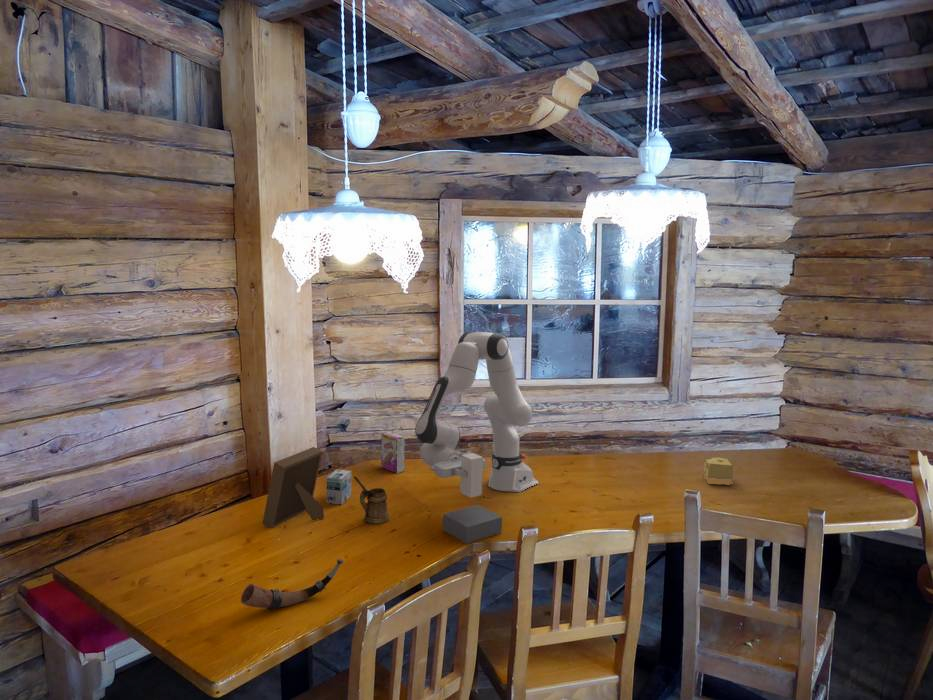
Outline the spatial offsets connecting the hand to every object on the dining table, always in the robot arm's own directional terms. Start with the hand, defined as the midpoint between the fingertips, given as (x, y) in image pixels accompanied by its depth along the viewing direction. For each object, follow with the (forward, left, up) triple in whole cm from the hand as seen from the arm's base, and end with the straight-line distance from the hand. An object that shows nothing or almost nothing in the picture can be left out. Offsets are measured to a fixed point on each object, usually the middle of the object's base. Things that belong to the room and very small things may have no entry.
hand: (473, 472), depth 248 cm
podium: (0, 0, -22) cm, 22 cm away
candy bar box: (-12, -73, -22) cm, 77 cm away
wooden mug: (+25, -29, -22) cm, 44 cm away
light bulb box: (+25, -54, -22) cm, 63 cm away
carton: (0, -1, -8) cm, 8 cm away
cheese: (-125, +20, -22) cm, 128 cm away
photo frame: (+47, -44, -22) cm, 68 cm away
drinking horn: (+73, +10, -22) cm, 77 cm away
